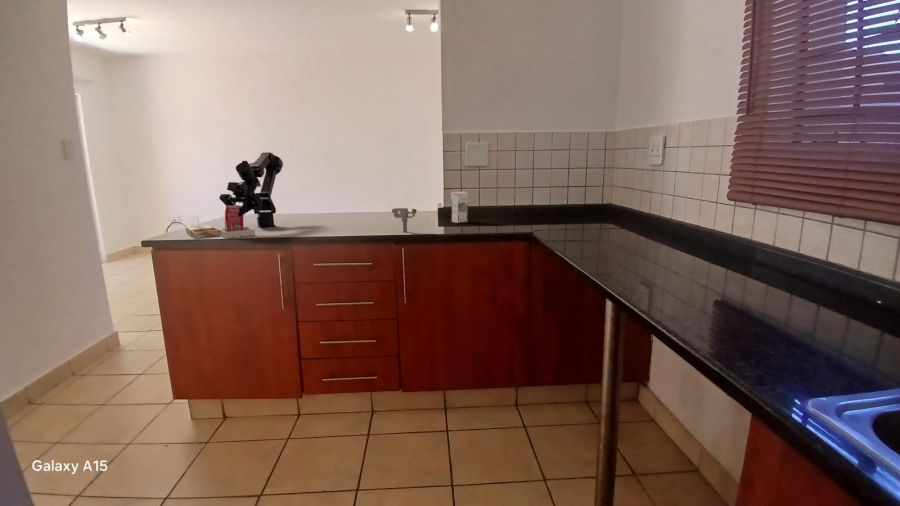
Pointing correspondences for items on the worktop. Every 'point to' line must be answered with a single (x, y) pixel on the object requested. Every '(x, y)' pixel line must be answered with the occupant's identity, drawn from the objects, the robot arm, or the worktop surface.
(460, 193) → the syrup box
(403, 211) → the mechanical component
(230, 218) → the soda can
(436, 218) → the worktop surface
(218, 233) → the light wood shallow tray
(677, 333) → the worktop surface
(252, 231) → the frame
